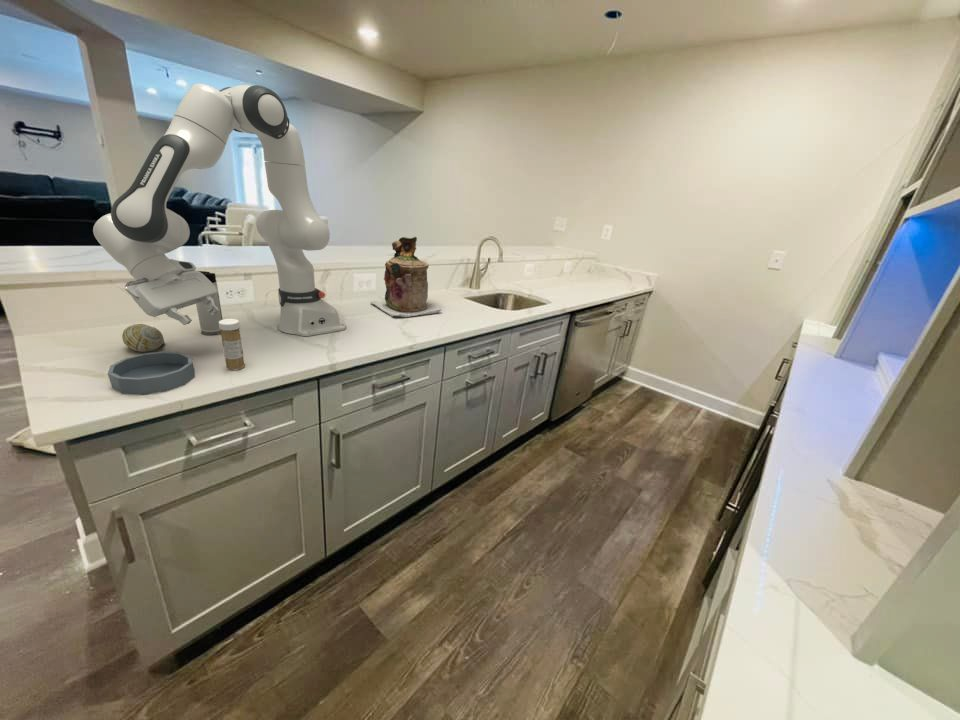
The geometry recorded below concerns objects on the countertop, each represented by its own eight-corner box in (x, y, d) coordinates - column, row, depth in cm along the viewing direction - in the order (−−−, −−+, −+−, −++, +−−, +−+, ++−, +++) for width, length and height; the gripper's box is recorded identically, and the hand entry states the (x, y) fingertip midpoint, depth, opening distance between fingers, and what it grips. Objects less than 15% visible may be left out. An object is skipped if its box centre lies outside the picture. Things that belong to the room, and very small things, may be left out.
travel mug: (195, 332, 123) (183, 270, 115) (214, 327, 128) (204, 267, 120) (210, 337, 121) (199, 274, 113) (229, 331, 127) (219, 271, 119)
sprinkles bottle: (231, 363, 107) (223, 317, 101) (248, 364, 107) (242, 318, 102) (222, 370, 103) (214, 322, 97) (240, 371, 103) (233, 324, 98)
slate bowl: (194, 362, 105) (191, 348, 103) (195, 387, 93) (192, 372, 92) (117, 371, 96) (113, 356, 95) (108, 399, 85) (103, 384, 83)
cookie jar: (415, 299, 189) (418, 232, 176) (443, 314, 172) (449, 240, 159) (368, 303, 173) (367, 230, 161) (394, 320, 157) (396, 239, 144)
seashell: (144, 336, 115) (152, 309, 111) (171, 354, 115) (180, 329, 111) (107, 345, 105) (115, 317, 102) (137, 366, 106) (146, 338, 102)
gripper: (126, 275, 86) (176, 322, 89) (197, 261, 105) (236, 301, 108) (112, 291, 88) (162, 337, 91) (184, 275, 107) (223, 314, 110)
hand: (202, 317), depth 100 cm, fingers open, 8 cm apart
